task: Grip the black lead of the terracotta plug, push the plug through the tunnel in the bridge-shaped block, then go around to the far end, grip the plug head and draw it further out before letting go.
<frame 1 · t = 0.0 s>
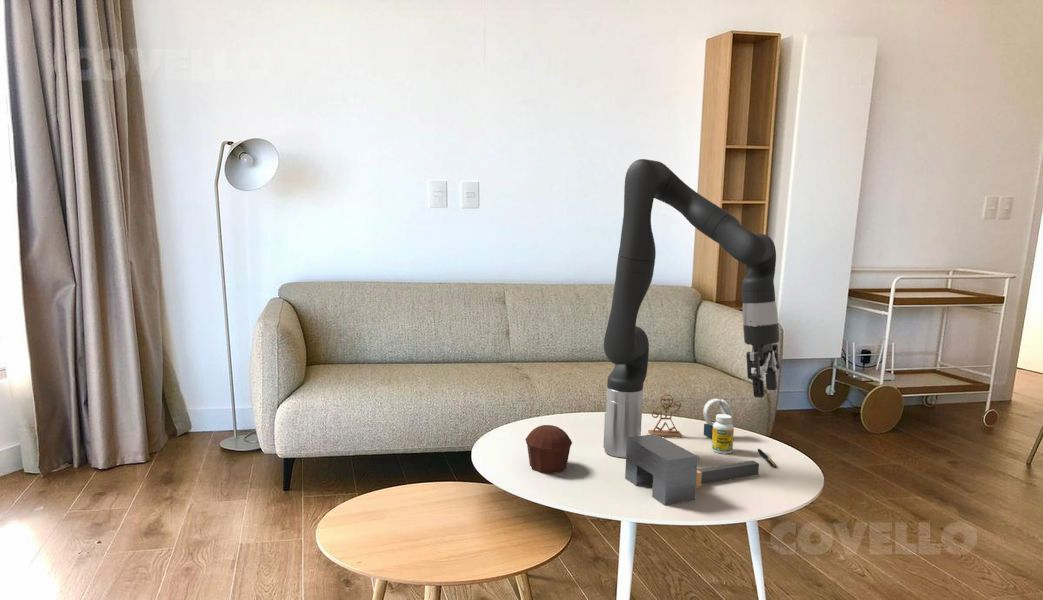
hand: (765, 393, 156), 22 cm above the table, tool pointing down, fingers open, 8 cm apart
supplement bottle: (721, 451, 183), on the table
gingerbread man figurine: (664, 436, 195), on the table
watch: (715, 437, 195), on the table
bridge-shaped block: (658, 488, 156), on the table
muffin: (547, 467, 168), on the table
plug: (686, 484, 159), on the table
fountain pen: (766, 460, 178), on the table
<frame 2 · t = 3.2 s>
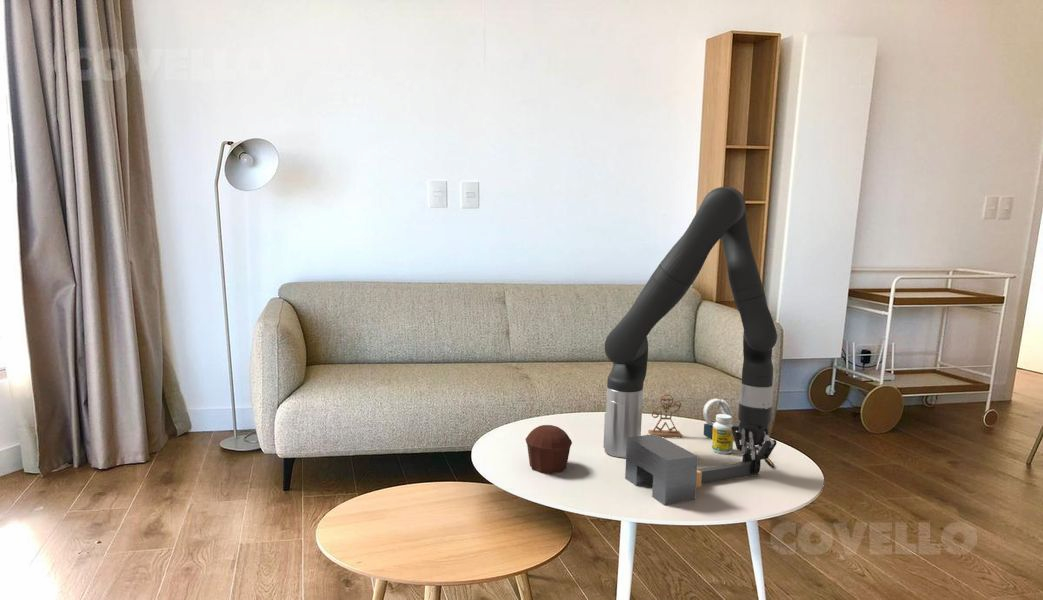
hand: (750, 471, 167), 1 cm above the table, tool pointing down, fingers closed on plug, 2 cm apart
plug: (686, 484, 159), on the table, touching gripper
everything else where it was.
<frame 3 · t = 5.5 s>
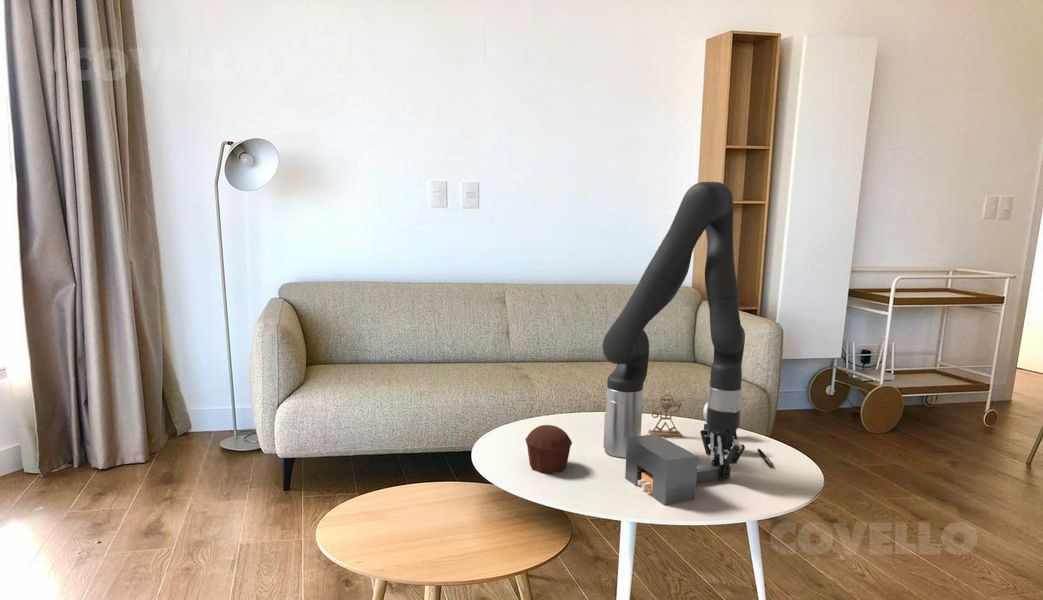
hand: (719, 476, 163), 1 cm above the table, tool pointing down, fingers closed on plug, 2 cm apart
plug: (655, 489, 156), on the table, touching gripper
everything else where it was.
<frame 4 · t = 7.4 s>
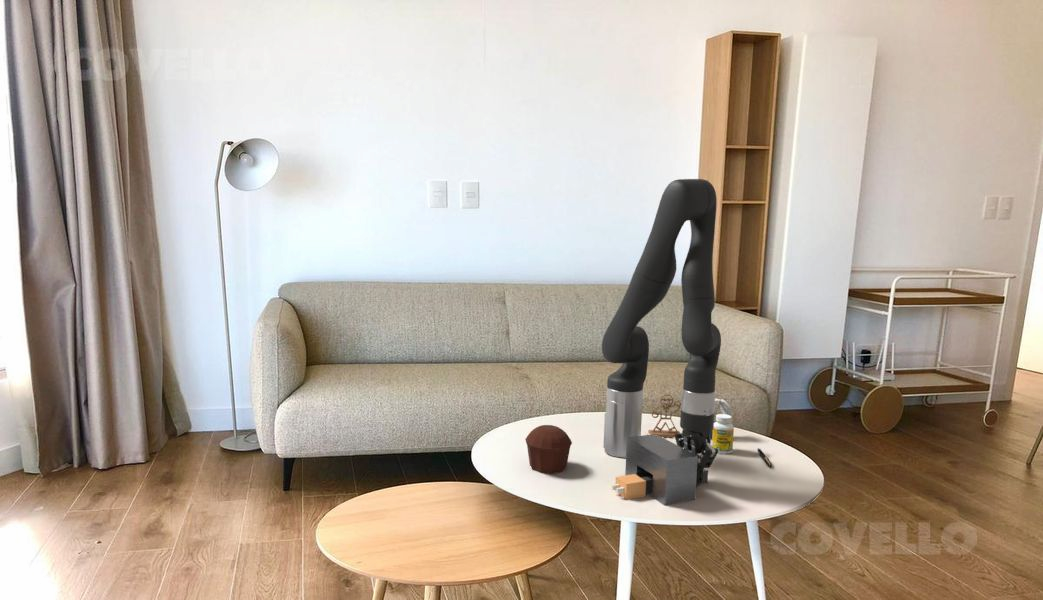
hand: (693, 481, 160), 1 cm above the table, tool pointing down, fingers closed on plug, 2 cm apart
plug: (630, 494, 153), on the table, touching gripper
everything else where it was.
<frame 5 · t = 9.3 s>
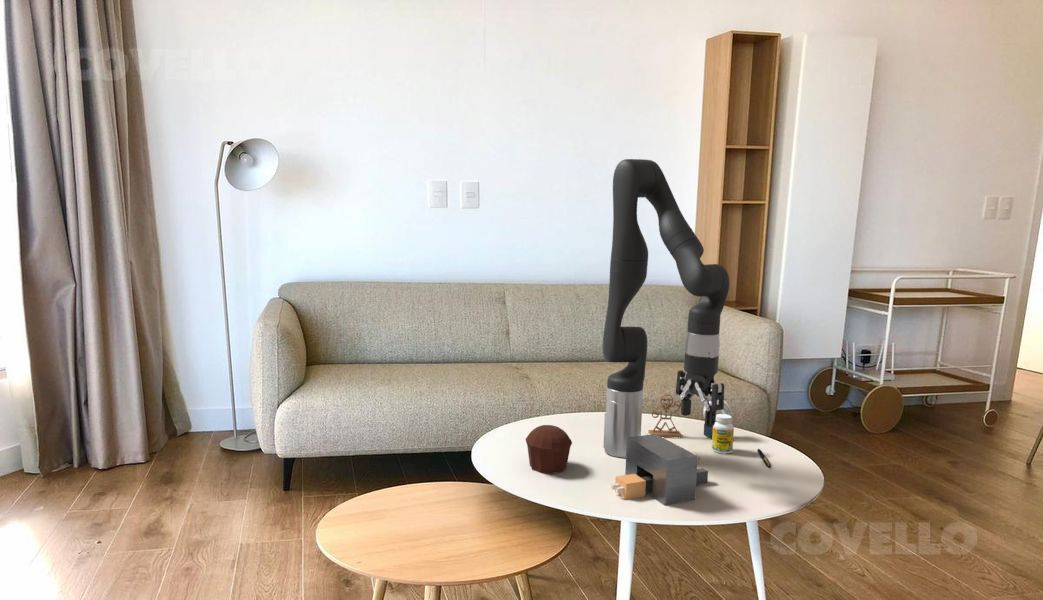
hand: (697, 420, 159), 15 cm above the table, tool pointing down, fingers open, 8 cm apart
plug: (629, 493, 153), on the table
everything else where it was.
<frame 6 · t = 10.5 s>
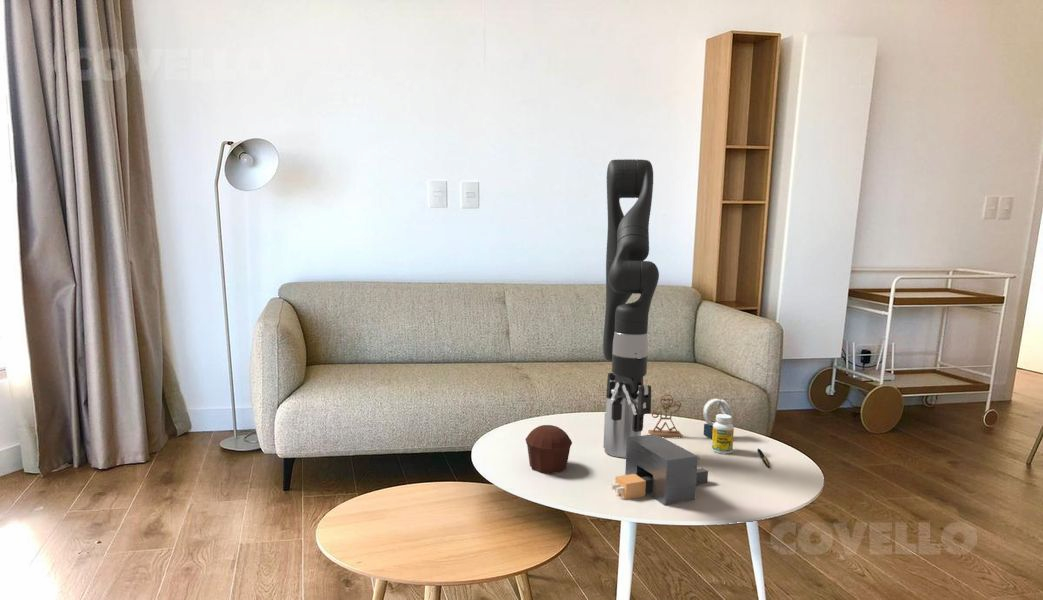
hand: (626, 425, 151), 16 cm above the table, tool pointing down, fingers open, 8 cm apart
nothing on the table moved.
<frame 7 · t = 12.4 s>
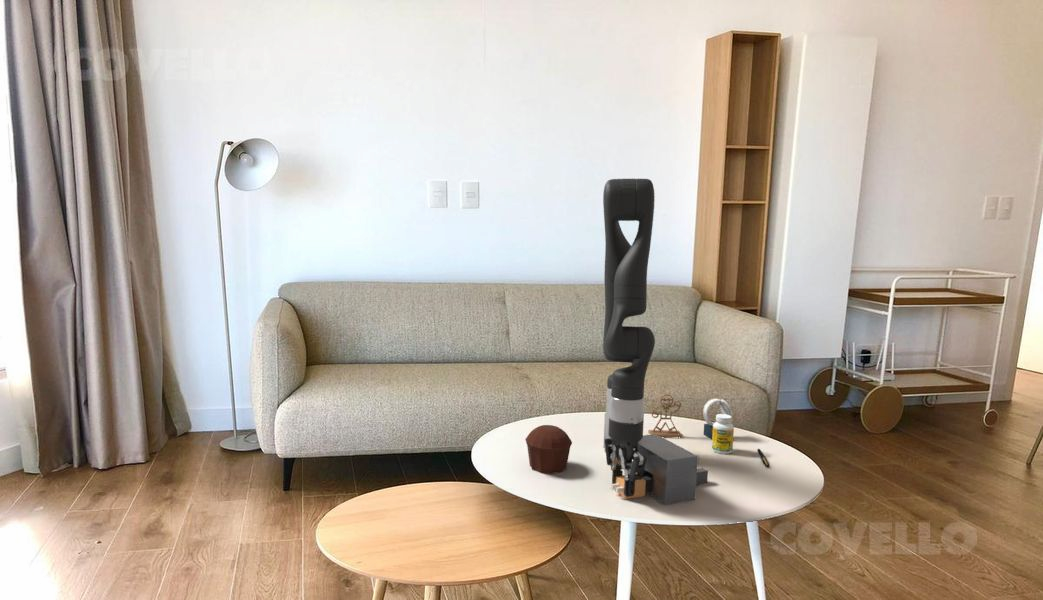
hand: (622, 490, 152), 1 cm above the table, tool pointing down, fingers closed on plug, 4 cm apart
plug: (629, 493, 153), on the table, touching gripper
everything else where it was.
when the fingers open (1 cm above the table, at t = 14.1 s): plug stays where it is, on the table.
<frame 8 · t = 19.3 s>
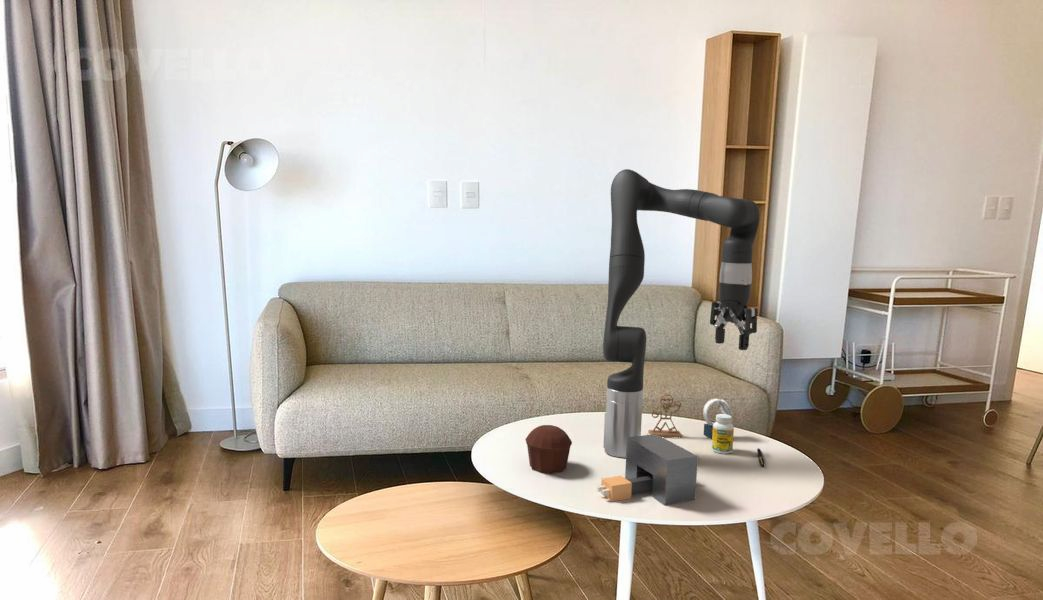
hand: (731, 346, 170), 30 cm above the table, tool pointing down, fingers open, 8 cm apart
plug: (615, 495, 152), on the table
at the end: plug inside the target area (2.5 cm from its centre), on the table; plug tilted 0°; the gripper is holding nothing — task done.
